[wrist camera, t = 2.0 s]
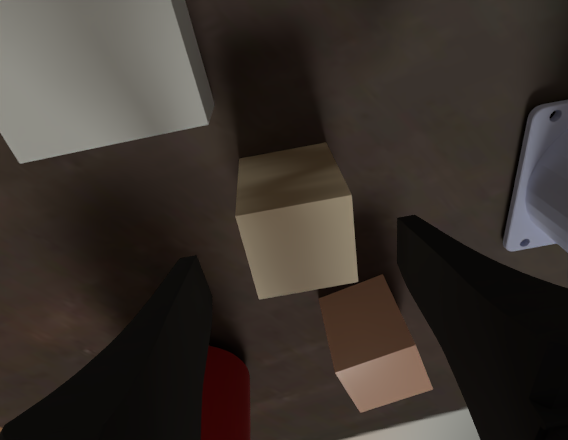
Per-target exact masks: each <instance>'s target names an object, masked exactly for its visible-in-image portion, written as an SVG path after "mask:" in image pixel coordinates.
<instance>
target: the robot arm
mask: <svg viewBox="0 0 568 440" xmlns="http://www.w3.org/2000/svg"><path fill="white" fill-rule="evenodd" d="M554 111H555V114H554V116H553V117H552V118H550V115H551V113H553V112H554ZM522 240H523V241H522ZM521 241H522V242H521ZM556 243H557V244H558V245H559V246H561V247H562V248H563V249H564V250H565V251H567V252H568V100H563V101H558V102H552V103H547V104H542V105H539V106H536V107H535V108H534V109H532V111H531V112H530V113H529V116H528V119H527V124H526V129H525V134H524V139H523V144H522V149H521V154H520V159H519V164H518V169H517V174H516V179H515V184H514V189H513V194H512V199H511V204H510V209H509V214H508V219H507V224H506V229H505V234H504V239H503V246H504V247H505V248H506V249H507V250H508V251H517V250H523V249H528V248H534V247H539V246H545V245H551V244H556ZM397 263H398V266H399V269H400V271H401V274H402V276H403V278H404V281H405V283H406V286H407V288H408V289H409V291H410V293H411V295H412V296H413V298H414V300H415V302H416V303H417V305H418V307H419V309H420V310H421V312H422V314H423V315H424V317H425V319H426V321H427V322H428V324H429V326H430V328H431V329H432V331H433V333H434V334H435V336H436V338H437V340H438V342H439V344H440V345H441V347H442V349H443V351H444V354H445V356H446V358H447V360H448V363H449V365H450V367H451V369H452V372H453V374H454V376H455V378H456V381H457V383H458V385H459V388H460V390H461V392H462V395H463V397H464V400H465V402H466V404H467V407H468V409H469V412H470V414H471V417H472V419H473V422H474V424H475V427H476V429H477V432H478V434H479V437H480V440H568V288H565V287H562V286H558V285H555V284H552V283H550V282H547V281H544V280H541V279H538V278H535V277H532V276H530V275H527V274H525V273H522V272H520V271H517V270H515V269H513V268H510V267H508V266H506V265H503V264H501V263H499V262H497V261H494V260H492V259H490V258H488V257H486V256H484V255H482V254H481V253H479V252H477V251H475V250H473V249H471V248H469V247H467V246H465V245H464V244H462V243H460V242H458V241H457V240H455V239H453V238H452V237H450V236H448V235H447V234H445V233H443V232H442V231H440V230H439V229H437V228H435V227H434V226H432V225H431V224H429V223H427V222H426V221H424V220H423V219H421V218H419V217H418V216H416V215H411V216H405V217H400V218H397ZM211 326H212V294H211V292H210V289H209V286H208V284H207V281H206V279H205V276H204V273H203V271H202V268H201V265H200V263H199V260H198V258H197V255H195V256H190V257H184V258H180V259H179V260H178V261H177V263H176V264H175V265H174V267H173V268H172V270H171V271H170V272H169V274H168V275H167V277H166V278H165V279H164V281H163V282H162V283H161V285H160V286H159V287H158V289H157V290H156V291H155V293H154V294H153V295H152V297H151V298H150V299H149V301H148V302H147V303H146V304H145V305H144V307H143V308H142V309H141V310H140V311H139V313H138V314H137V315H136V316H135V317H134V319H133V320H132V321H131V322H130V323H129V324H128V325H127V326H126V328H125V329H124V330H123V331H122V332H121V333H120V334H119V335H118V336H117V337H116V338H115V339H114V340H113V341H112V342H111V343H110V344H109V345H108V346H107V347H106V348H105V349H104V350H103V351H101V352H100V353H99V354H98V355H97V356H96V357H95V358H94V359H92V360H91V361H90V362H89V363H88V364H87V365H86V366H85V367H83V368H82V369H81V370H80V371H79V372H78V373H76V374H75V375H74V376H73V377H71V378H70V379H69V380H68V381H66V382H65V383H64V384H62V385H61V386H60V387H58V388H57V389H56V390H55V391H53V392H52V393H51V394H49V395H48V396H46V397H45V398H44V399H42V400H41V401H39V402H38V403H36V404H35V405H34V406H32V407H31V408H29V409H28V410H26V411H25V412H23V413H22V414H20V415H19V416H17V417H16V418H15V419H13V420H12V421H10V422H8V423H7V424H5V425H4V427H3V429H2V431H1V432H0V440H201V414H202V392H203V382H204V375H205V368H206V361H207V354H208V348H209V341H210V334H211Z"/></svg>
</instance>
